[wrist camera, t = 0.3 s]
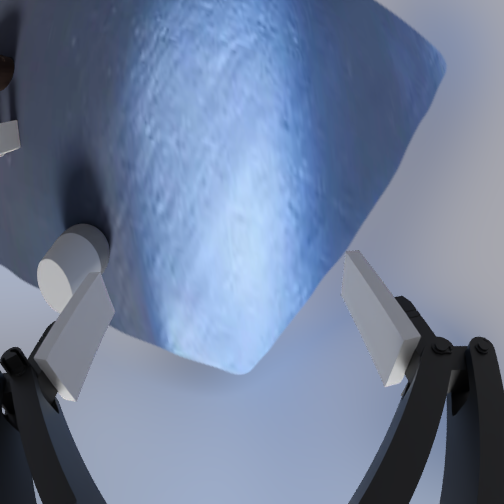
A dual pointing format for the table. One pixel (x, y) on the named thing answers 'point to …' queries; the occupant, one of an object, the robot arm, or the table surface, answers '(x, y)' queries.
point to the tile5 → (9, 137)
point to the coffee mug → (5, 71)
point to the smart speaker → (71, 263)
